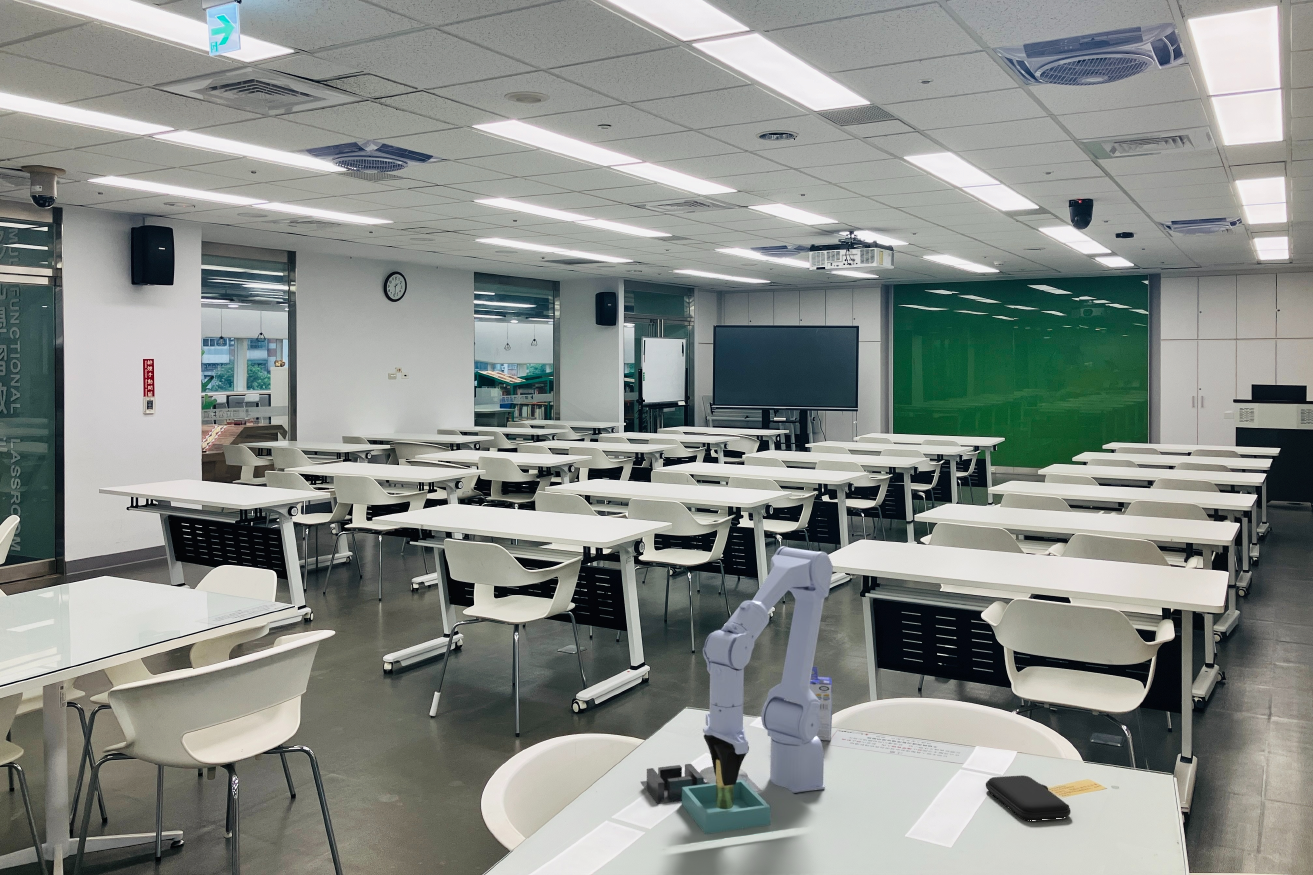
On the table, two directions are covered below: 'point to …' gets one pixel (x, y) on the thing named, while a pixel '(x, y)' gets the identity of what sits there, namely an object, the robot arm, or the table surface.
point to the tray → (712, 819)
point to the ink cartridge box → (822, 702)
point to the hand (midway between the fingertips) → (725, 779)
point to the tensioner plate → (681, 781)
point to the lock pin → (723, 790)
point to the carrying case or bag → (1027, 798)
